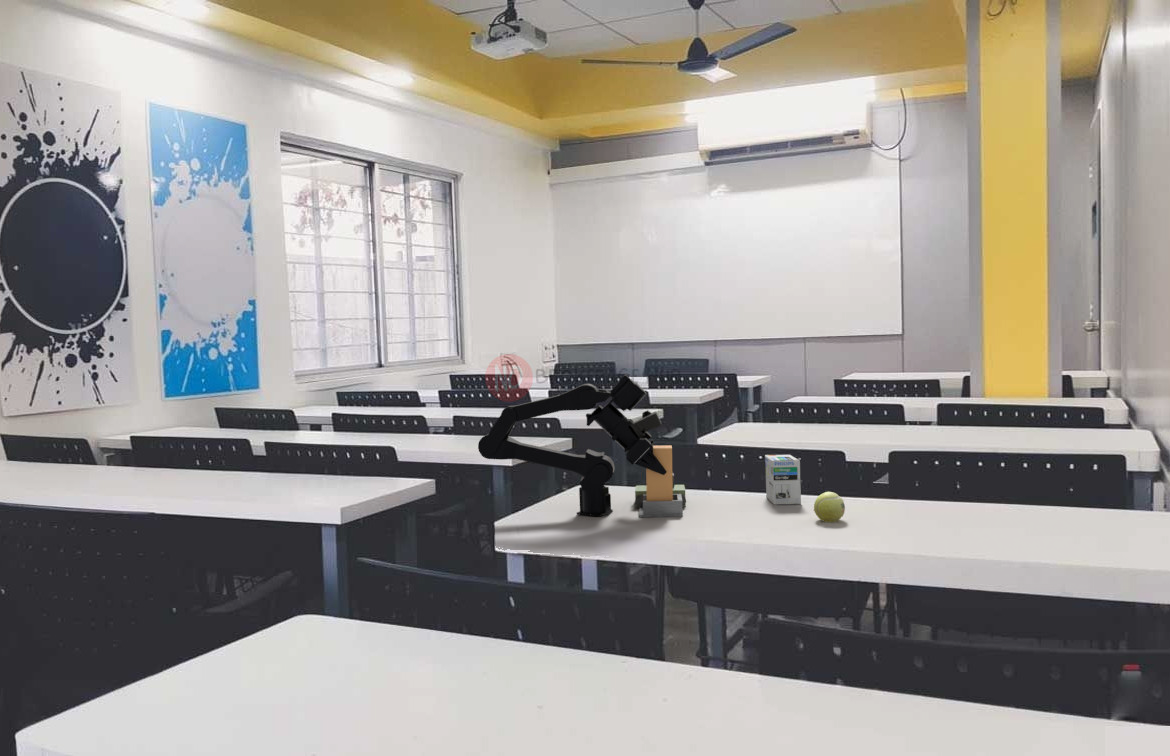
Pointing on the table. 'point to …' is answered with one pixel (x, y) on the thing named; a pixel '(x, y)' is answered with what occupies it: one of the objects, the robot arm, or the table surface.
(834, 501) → the tennis ball
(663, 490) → the tan rectangular block
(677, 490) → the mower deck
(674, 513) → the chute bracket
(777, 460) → the light bulb box
